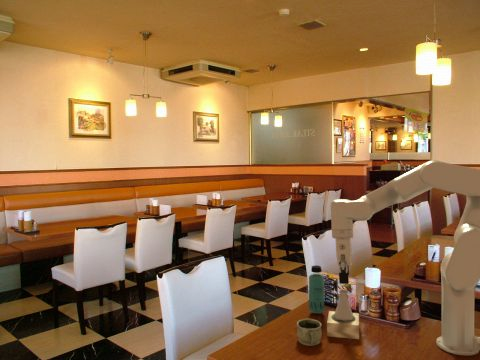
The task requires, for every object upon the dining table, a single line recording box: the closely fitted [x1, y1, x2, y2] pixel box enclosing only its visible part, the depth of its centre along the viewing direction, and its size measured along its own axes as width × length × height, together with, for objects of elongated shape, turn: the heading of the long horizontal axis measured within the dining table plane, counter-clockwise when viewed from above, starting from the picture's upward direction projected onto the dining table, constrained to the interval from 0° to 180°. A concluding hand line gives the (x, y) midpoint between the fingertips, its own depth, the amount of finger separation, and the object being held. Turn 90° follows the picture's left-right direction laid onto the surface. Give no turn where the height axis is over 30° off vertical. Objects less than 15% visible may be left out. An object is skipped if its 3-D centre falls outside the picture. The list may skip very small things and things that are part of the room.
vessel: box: [296, 318, 323, 347], centre depth 139 cm, size 12×9×6 cm
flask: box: [334, 289, 354, 321], centre depth 146 cm, size 7×7×10 cm
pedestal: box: [326, 310, 360, 340], centre depth 146 cm, size 11×11×5 cm
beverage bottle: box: [308, 264, 326, 314], centre depth 162 cm, size 6×7×20 cm
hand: (344, 279), depth 145 cm, fingers open, 9 cm apart
